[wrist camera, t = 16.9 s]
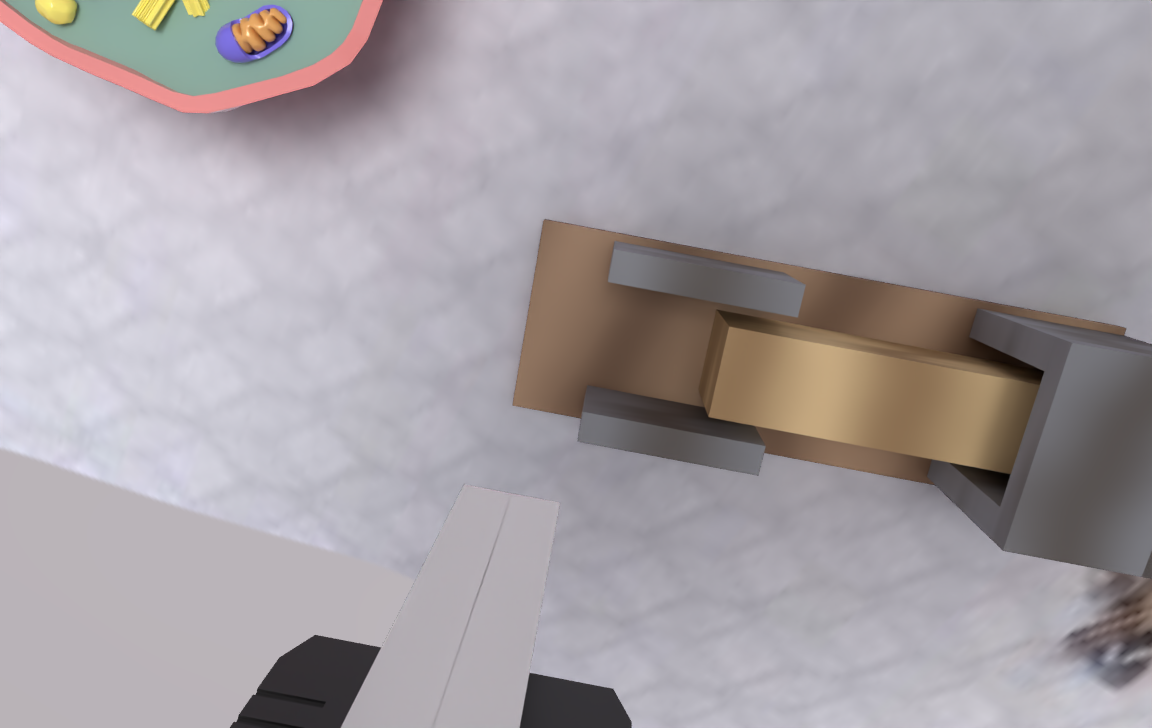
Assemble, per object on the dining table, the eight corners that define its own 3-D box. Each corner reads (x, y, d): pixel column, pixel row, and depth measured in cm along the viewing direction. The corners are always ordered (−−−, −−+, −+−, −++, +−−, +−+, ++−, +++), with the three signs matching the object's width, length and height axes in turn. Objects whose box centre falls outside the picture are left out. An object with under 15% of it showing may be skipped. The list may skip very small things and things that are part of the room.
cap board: (1117, 325, 33) (1260, 368, 26) (1056, 503, 35) (1173, 591, 28) (544, 219, 33) (523, 231, 26) (514, 401, 35) (486, 461, 28)
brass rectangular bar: (1051, 372, 33) (1108, 397, 29) (1025, 451, 34) (1077, 486, 30) (716, 309, 33) (729, 326, 29) (698, 389, 34) (708, 417, 30)
